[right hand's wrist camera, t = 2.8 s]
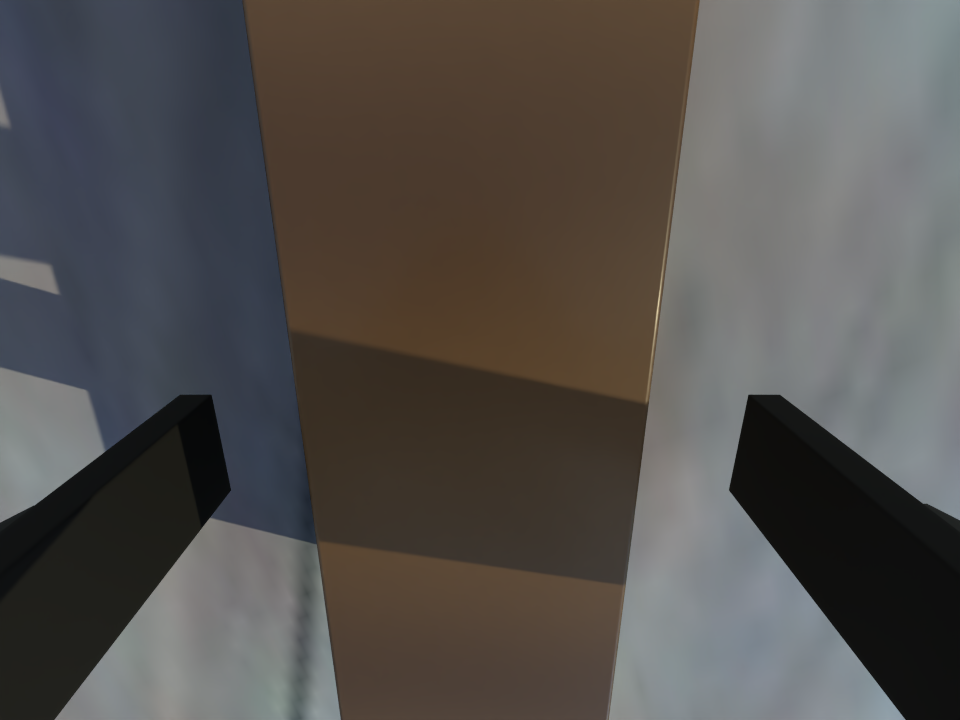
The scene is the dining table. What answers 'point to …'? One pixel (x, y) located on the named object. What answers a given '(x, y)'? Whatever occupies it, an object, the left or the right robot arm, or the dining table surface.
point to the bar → (472, 328)
